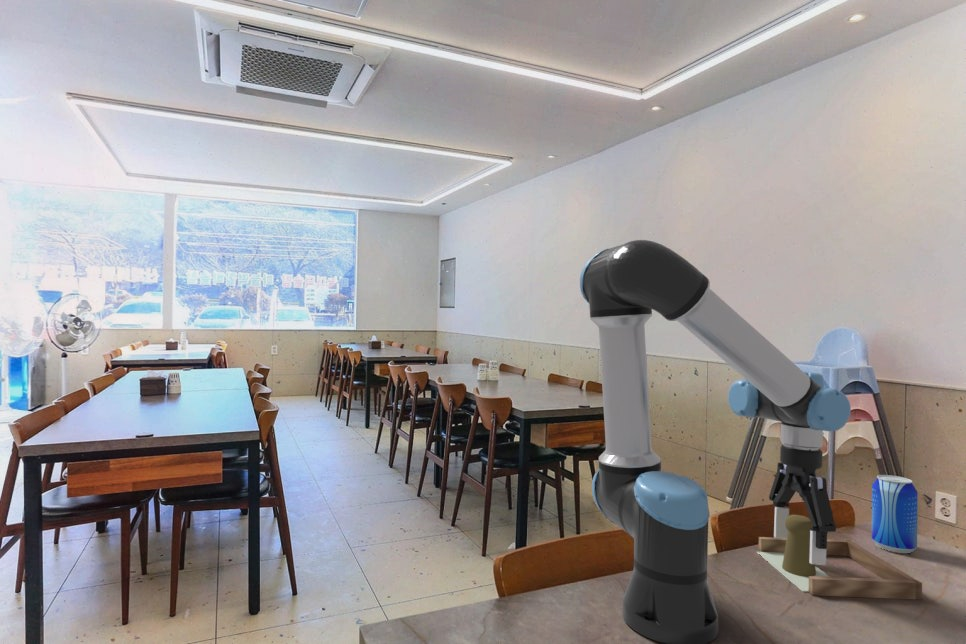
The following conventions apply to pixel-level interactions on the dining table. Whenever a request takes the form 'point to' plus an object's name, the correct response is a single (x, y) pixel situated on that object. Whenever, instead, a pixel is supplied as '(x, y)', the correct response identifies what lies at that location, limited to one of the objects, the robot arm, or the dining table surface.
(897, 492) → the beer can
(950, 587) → the dining table surface
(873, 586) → the bay
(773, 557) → the front pad
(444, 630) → the dining table surface
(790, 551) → the olive chess pawn
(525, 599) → the dining table surface
